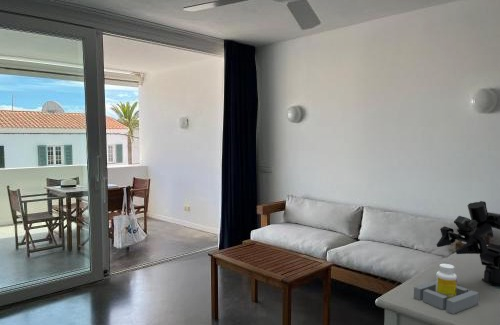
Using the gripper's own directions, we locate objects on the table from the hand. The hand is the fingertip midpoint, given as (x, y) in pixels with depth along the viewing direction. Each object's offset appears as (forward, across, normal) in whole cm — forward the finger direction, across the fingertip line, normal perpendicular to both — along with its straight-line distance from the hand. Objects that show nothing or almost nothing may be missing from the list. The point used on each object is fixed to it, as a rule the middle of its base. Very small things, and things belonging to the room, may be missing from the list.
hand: (446, 249), depth 147 cm
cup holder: (+12, +7, +12) cm, 19 cm away
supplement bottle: (+12, +7, +13) cm, 19 cm away
